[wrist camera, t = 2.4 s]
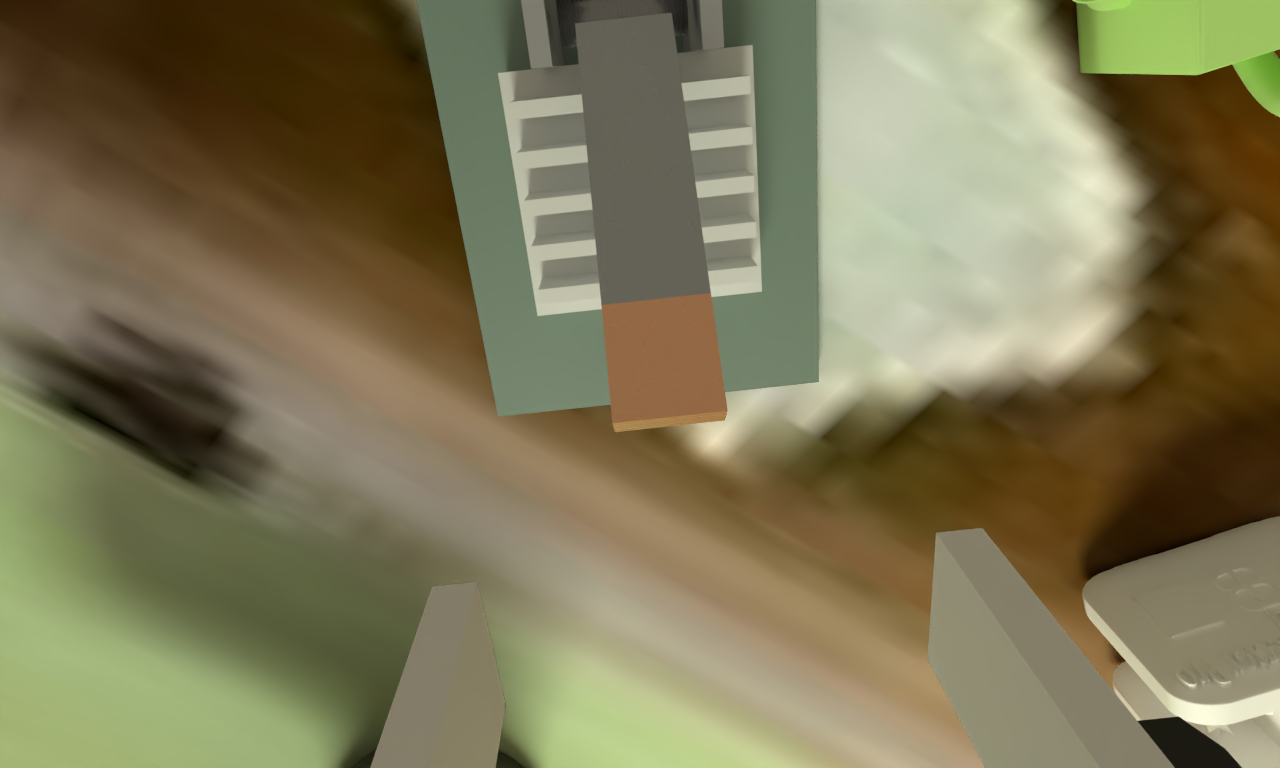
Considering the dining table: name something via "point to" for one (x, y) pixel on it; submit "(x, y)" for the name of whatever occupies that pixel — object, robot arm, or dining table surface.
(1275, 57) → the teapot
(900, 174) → the dining table surface
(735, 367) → the heatsink board
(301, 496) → the dining table surface
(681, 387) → the orange-tipped flat strip
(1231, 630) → the cable organizer
